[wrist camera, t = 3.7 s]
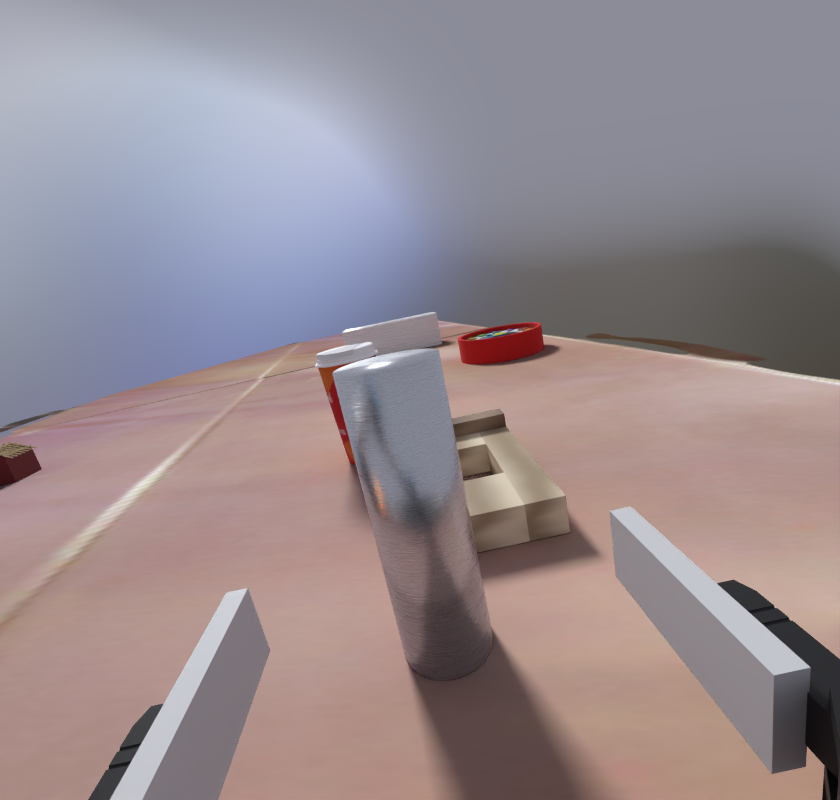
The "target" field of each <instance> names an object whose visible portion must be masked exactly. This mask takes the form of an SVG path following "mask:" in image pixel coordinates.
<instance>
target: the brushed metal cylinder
mask: <svg viewBox="0 0 840 800" xmlns="http://www.w3.org/2000/svg"><path fill="white" fill-rule="evenodd" d="M332 374H333V378H334V382H335V386H336V390H337V394H338V397H339V401H340V405H341V409H342V413H343V417H344V421H345V425H346V428H347V432H348V436H349V440H350V444H351V448H352V452H353V456H354V459H355V463H356V467H357V471H358V475H359V479H360V483H361V486H362V490H363V494H364V498H365V502H366V506H367V510H368V514H369V517H370V521H371V525H372V529H373V533H374V537H375V541H376V545H377V548H378V552H379V556H380V560H381V564H382V568H383V572H384V575H385V579H386V583H387V587H388V591H389V595H390V599H391V603H392V606H393V610H394V614H395V618H396V622H397V626H398V630H399V634H400V637H401V641H402V645H403V649H404V653H405V656H406V659H407V661H408V663H409V665H410V666H411V667H412V668H413V669H414V670H415V671H416V672H417V673H419V674H420V675H422V676H424V677H427V678H429V679H434V680H452V679H456V678H460V677H463V676H465V675H467V674H469V673H471V672H473V671H474V670H475V669H477V668H478V667H479V666H480V665H481V664H482V663H483V662H484V661H485V659H486V658H487V656H488V655H489V652H490V650H491V647H492V642H493V634H492V629H491V624H490V618H489V613H488V608H487V603H486V597H485V592H484V587H483V581H482V576H481V571H480V566H479V560H478V555H477V550H476V544H475V539H474V534H473V529H472V523H471V518H470V513H469V507H468V502H467V497H466V492H465V486H464V481H463V476H462V470H461V465H460V460H459V455H458V449H457V444H456V439H455V433H454V428H453V423H452V418H451V412H450V407H449V402H448V396H447V391H446V386H445V381H444V375H443V370H442V365H441V360H440V354H439V350H437V349H414V350H407V351H400V352H395V353H389V354H385V355H380V356H376V357H372V358H368V359H364V360H361V361H357V362H354V363H351V364H348V365H346V366H343V367H341V368H339V369H337V370H335V371H334V372H333V373H332Z"/></svg>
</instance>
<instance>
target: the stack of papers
mask: <svg viewBox="0 0 840 800" xmlns="http://www.w3.org/2000/svg"><path fill="white" fill-rule="evenodd" d="M342 335H343V338H344V343H345V346H346V345H353V344H357V343H365V342H372V344H373V346H374V348H375V350H377V351H378V354H376V356H380V355H385V354H389V353H395V352H400V351H407V350H414V349H420V348H425V347H430V346H434V345H439V344H442V342H441V341H442V340H441V335H440V331H439V325H438V319H437V314H436V313H434V312H430V313H425V314H420V315H415V316H410V317H406V318H401V319H396V320H391V321H386V322H382V323H378V324H373V325H368V326H363V327H358V328H353V329H348V330H345V331H344V332H342Z"/></svg>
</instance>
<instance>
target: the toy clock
mask: <svg viewBox="0 0 840 800" xmlns="http://www.w3.org/2000/svg"><path fill="white" fill-rule="evenodd" d="M458 343H459V349H460V355H461V360H462V362H463V363H465V364H490V363H498V362H505V361H510V360H515V359H519V358H523V357H527V356H530V355H533V354H536V353H538V352H540V351H542V350H543V349H544V343H543V336H542V329H541V324H540V323H519V324H511V325H504V326H498V327H493V328H488V329H483V330H479V331H475V332H472V333H469V334H466V335H463V336H461V337H459V338H458Z"/></svg>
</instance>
